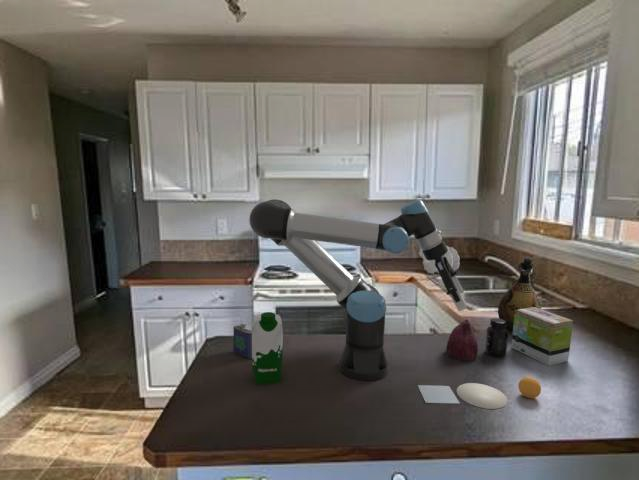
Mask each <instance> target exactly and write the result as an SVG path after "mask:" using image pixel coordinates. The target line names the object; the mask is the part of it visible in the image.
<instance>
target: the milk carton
mask: <svg viewBox="0 0 639 480" xmlns="http://www.w3.org/2000/svg"><path fill="white" fill-rule="evenodd" d="M252 319H253V320H252V324H251V325H252V326H251V331H252V359H251V363H252V371H253V376H254V380H255V382H254V383H255V385H257V386H258V385H266V384H267V385H268V384H279V383H281V378H282V371H283V355H284V354H283V349H284V348H283V347H284V345H283V343H284V342H283V339H284V338H283V337H284V335H283V334H284V333H283V328H284V327H283V322H282V318H281V316H280V314H276V313H275V312H271V311H267V312H262V313H261V314H259V315H258V314H257V315H253V317H252Z"/></svg>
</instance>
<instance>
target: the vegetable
mask: <svg viewBox="0 0 639 480" xmlns="http://www.w3.org/2000/svg"><path fill="white" fill-rule="evenodd" d="M471 326H472V325H471V322H470V321H469V319H468V318H466V319H464V320H462V322H460V323H459V324H457V325H456V326H455V327H454V328H453V329H452V330H451V333H450V335H449V337H448V340H447V343H446V349H445V350H446V351H445V354H446V355H447V356H448V357H450V358H453V359H455V360H460V361H464V362H465V361H466V362H467V361H470V362H471V361H474V360H476V359H477V358H478V354H479V353H478V349H479V348H478V347H479V346H478V341H477V338H476V336H475V334H474V332H473V330H472V327H471Z"/></svg>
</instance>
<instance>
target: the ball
mask: <svg viewBox="0 0 639 480" xmlns="http://www.w3.org/2000/svg"><path fill="white" fill-rule="evenodd" d="M518 390H519V392H520V394H521V395H522V396H523V397H525V398H528V399H535V398H536V399H537V397H539V396H540V395H541V392H542V386H541V383H540V382H539V381H538V380H537V379H536V378H535V377H532V376H525V377H522V378H521V379H520V380H519V381H518Z"/></svg>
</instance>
